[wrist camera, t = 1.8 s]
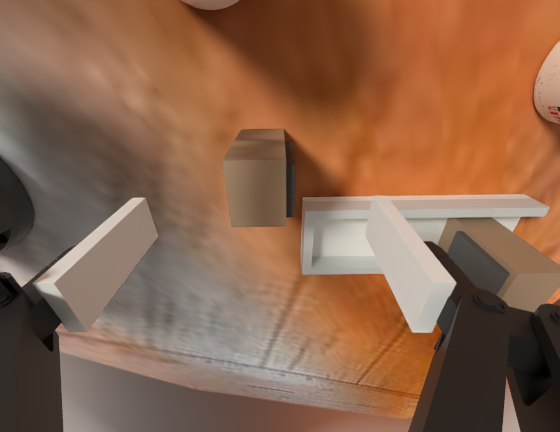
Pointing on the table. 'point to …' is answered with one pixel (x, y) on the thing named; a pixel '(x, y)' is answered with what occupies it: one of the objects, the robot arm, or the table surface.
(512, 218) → the rail
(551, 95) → the teacup with lid
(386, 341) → the table surface
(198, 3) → the mug
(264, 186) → the block
